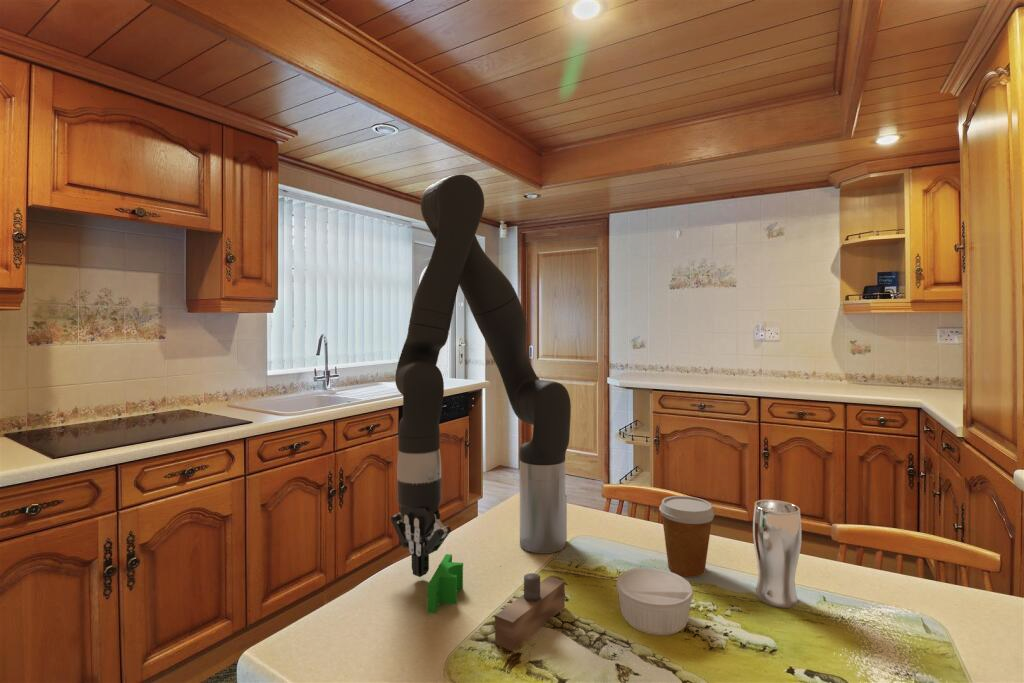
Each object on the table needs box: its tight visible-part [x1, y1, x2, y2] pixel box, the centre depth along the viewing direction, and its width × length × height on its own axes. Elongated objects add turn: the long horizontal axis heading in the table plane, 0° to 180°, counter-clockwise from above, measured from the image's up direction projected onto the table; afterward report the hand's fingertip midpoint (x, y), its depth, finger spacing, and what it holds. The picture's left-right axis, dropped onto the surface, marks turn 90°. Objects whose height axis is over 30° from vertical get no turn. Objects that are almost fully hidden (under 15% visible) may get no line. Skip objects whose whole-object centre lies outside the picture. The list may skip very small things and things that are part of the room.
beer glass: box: [752, 499, 803, 609], centre depth 84 cm, size 7×7×15 cm
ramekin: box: [615, 567, 694, 636], centre depth 78 cm, size 11×11×5 cm
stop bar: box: [494, 573, 566, 652], centre depth 76 cm, size 14×3×7 cm, turn 144°
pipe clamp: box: [427, 553, 464, 614], centre depth 85 cm, size 11×4×5 cm, turn 173°
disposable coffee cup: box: [658, 495, 716, 578], centre depth 94 cm, size 10×10×12 cm
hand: (420, 574), depth 90 cm, fingers closed
